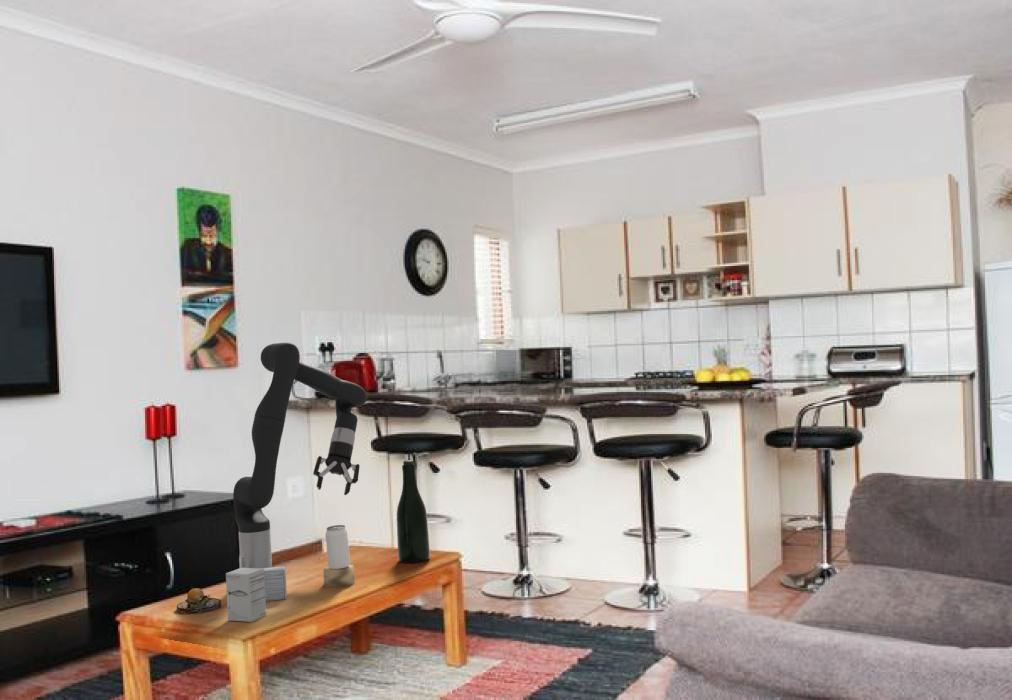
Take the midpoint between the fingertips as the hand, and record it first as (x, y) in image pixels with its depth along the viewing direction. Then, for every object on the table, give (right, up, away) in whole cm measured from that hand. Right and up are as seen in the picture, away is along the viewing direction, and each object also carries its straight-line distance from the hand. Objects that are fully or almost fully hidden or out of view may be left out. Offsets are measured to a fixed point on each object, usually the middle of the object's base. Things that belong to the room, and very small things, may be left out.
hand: (332, 491), depth 307 cm
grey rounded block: (+6, -25, -19) cm, 32 cm away
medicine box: (-11, -26, -34) cm, 44 cm away
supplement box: (-13, -25, -54) cm, 61 cm away
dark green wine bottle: (+25, -24, +10) cm, 36 cm away
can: (+6, -20, -19) cm, 28 cm away
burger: (-30, -27, -41) cm, 57 cm away
